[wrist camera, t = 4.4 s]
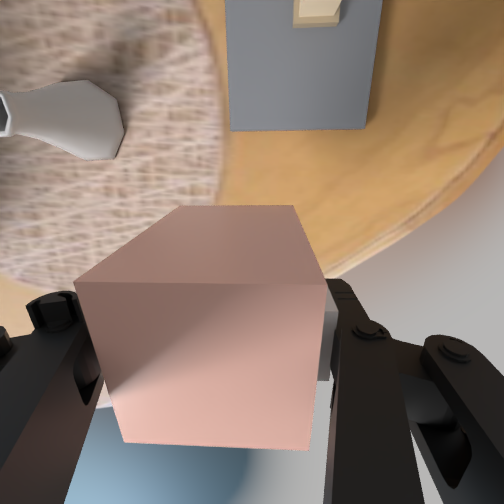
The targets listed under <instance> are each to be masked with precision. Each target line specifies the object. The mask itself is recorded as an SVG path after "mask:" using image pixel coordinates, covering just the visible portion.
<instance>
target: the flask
mask: <svg viewBox="0 0 504 504" xmlns="http://www.w3.org/2000/svg"><path fill="white" fill-rule="evenodd" d="M15 134H19V135H23V136H28V137H32V138H36V139H39V140H42V141H44V142H46V143H49V144H51V145H53V146H56V147H58V148H60V149H63V150H65V151H67V152H69V153H71V154H73V155H75V156H77V157H79V158H82V159H84V160H86V161H93V160H108V159H114V157H115V155H116V152H117V150H118V147H119V145H120V143H121V140H122V138H123V135H124V129H123V125H122V120H121V116H120V112H119V107H118V103H117V99H116V98H114V97H113V96H111V95H110V94H108V93H107V92H105V91H104V90H102V89H101V88H99V87H98V86H96V85H95V84H93V83H92V82H90V81H89V80H79V81H69V82H58V83H54V84H51V85H48V86H45V87H43V88H40V89H36V90H32V91H28V92H10V91H4V90H0V137H10V136H14V135H15Z"/></svg>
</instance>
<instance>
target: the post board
mask: <svg viewBox="0 0 504 504" xmlns="http://www.w3.org/2000/svg"><path fill="white" fill-rule="evenodd" d="M382 2H383V0H225V12H226V37H227V61H228V86H229V110H230V131H232V132H235V131H292V130H350V129H365V124H366V117H367V110H368V103H369V96H370V88H371V81H372V74H373V67H374V60H375V52H376V45H377V38H378V31H379V24H380V16H381V9H382Z"/></svg>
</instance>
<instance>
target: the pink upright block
mask: <svg viewBox="0 0 504 504" xmlns="http://www.w3.org/2000/svg"><path fill="white" fill-rule="evenodd" d="M73 283H74V286H75V289H76V293H77V296H78V299H79V302H80V305H81V308H82V311H83V314H84V318H85V321H86V324H87V327H88V330H89V333H90V336H91V339H92V343H93V346H94V349H95V352H96V355H97V358H98V361H99V364H100V368H101V371H102V374H103V377H104V380H105V383H106V386H107V389H108V393H109V396H110V399H111V402H112V405H113V408H114V411H115V414H116V418H117V420H118V424H119V427H120V430H121V433H122V436H123V439H124V442H127V443H149V444H172V445H173V444H174V445H193V446H215V447H216V446H217V447H238V448H258V449H280V450H303V451H309V447H310V437H311V429H312V420H313V411H314V401H315V394H316V385H317V376H318V367H319V358H320V349H321V340H322V331H323V322H324V313H325V304H326V295H327V286H328V284H327V282H326V280H325V278H324V275H323V273H322V271H321V268H320V266H319V264H318V262H317V259H316V257H315V255H314V252H313V250H312V248H311V246H310V243H309V241H308V239H307V236H306V234H305V232H304V230H303V227H302V225H301V223H300V220H299V218H298V216H297V214H296V211H295V209H294V207H293V205H239V206H179V207H177V208H176V209H174V210H173V211H172V212H170V213H169V214H167V215H166V216H165V217H163V218H162V219H160V220H159V221H158V222H156V223H155V224H153V225H152V226H151V227H149V228H148V229H146V230H145V231H144V232H142V233H141V234H139V235H138V236H137V237H135V238H134V239H132V240H131V241H130V242H128V243H127V244H125V245H124V246H123V247H121V248H120V249H118V250H117V251H115V252H114V253H113V254H111V255H110V256H108V257H107V258H106V259H104V260H103V261H101V262H100V263H99V264H97V265H96V266H94V267H93V268H92V269H90V270H89V271H87V272H86V273H85V274H83V275H82V276H80V277H79V278H78V279H76V280H75V281H73Z"/></svg>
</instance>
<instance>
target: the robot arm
mask: <svg viewBox="0 0 504 504" xmlns="http://www.w3.org/2000/svg"><path fill="white" fill-rule="evenodd" d="M325 280H326V282H327V284H328V286H327V295H326V304H325V313H324V322H323V331H322V340H321V349H320V358H319V367H318V376H317V381H329V377H330V370H331V371H332V375H333V378H334V384H333V390H332V398H331V404H330V408H331V415H330V426H329V438H328V451H327V463H326V475H325V487H324V500H323V504H425V502H424V497H423V492H422V487H421V482H420V478H419V472H418V468H417V462H416V457H415V453H414V448H413V442H412V437H411V432H412V435H413V437H414V439H415V441H416V444H417V446H418V448H419V450H420V452H421V455H422V457H423V459H424V461H425V464H426V466H427V468H428V470H429V472H430V475H431V477H432V479H433V481H434V483H435V486H436V488H437V490H438V492H439V495H440V497H441V499H442V501H443V504H504V376H503V375H502V374H501V373H500V372H499V371H498V370H497V369H496V368H495V367H494V366H493V365H492V364H491V362H490V361H489V360H488V359H487V358H486V357H485V356H484V355H483V354H482V353H481V352H479V351H478V350H477V349H476V348H475V347H473V346H472V345H470V344H468V343H466V342H464V341H462V340H460V339H456V338H454V337H451V336H445V335H431V336H429V337H427V338H426V339H425V342H424V346H419V345H414V344H411V343H406V342H402V341H399V340H395V339H393V338H392V337H391V335H390V333H389V331H388V330H387V329H386V328H385V327H383V326H382V325H381V324H379V323H377V322H375V321H372V320H370V319H369V317H368V315H367V314H366V312H365V310H364V308H363V307H362V305H361V303H360V302H359V300H358V298H357V297H356V295H355V294H354V292H353V290H352V288H351V286H350V285H349V284H347V283H346V282H345V281H343V280H342V279H325ZM26 309H27V311H28V313H29V316H30V318H31V321H32V323H33V325H34V328H35V330H34V331H33V332H32V333H31V334H29V335H24V336H18V337H12V338H10V337H9V335H8V333H7V331H6V329H5V328H4V327H3V326H0V504H64V501H65V498H66V495H67V492H68V489H69V486H70V483H71V480H72V477H73V474H74V471H75V468H76V465H77V462H78V459H79V456H80V453H81V450H82V447H83V444H84V441H85V438H86V435H87V432H88V429H89V426H90V423H91V420H92V417H93V414H94V411H95V408H96V405H97V402H98V399H99V396H100V393H101V390H102V387H103V384H104V377H103V374H102V371H101V368H100V364H99V361H98V358H97V355H96V352H95V349H94V346H93V343H92V339H91V336H90V333H89V330H88V327H87V324H86V321H85V318H84V314H83V311H82V308H81V305H80V302H79V299H78V296H77V294H76V293H75V292H72V291H59V292H54V293H50V294H47V295H44V296H41V297H39V298H37V299H35V300H33V301H31V302H30V303H28V304H27V305H26ZM410 430H411V432H410Z"/></svg>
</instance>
